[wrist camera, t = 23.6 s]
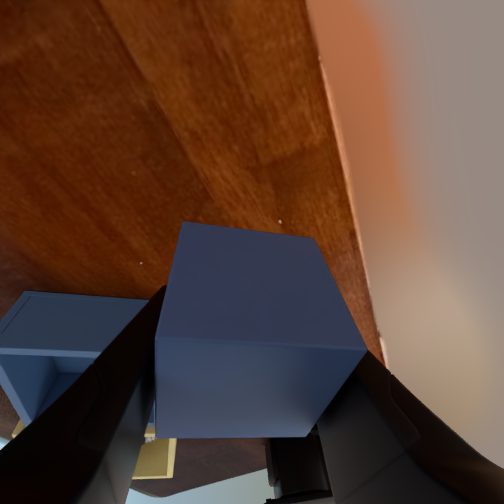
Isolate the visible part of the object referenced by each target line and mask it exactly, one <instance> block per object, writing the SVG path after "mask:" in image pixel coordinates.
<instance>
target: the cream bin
mask: <svg viewBox="0 0 504 504" xmlns="http://www.w3.org/2000/svg"><path fill="white" fill-rule="evenodd" d="M24 428H25V425H24V423H23V422H22V420H21V419H20V421H19V423H18V424H17V426H16V428H15V430H14V432H13V433H12V436H13V438H14V437H15V436H17V435H18V434H19V433H20V432H21V431H22V430H23V429H24ZM144 437H155V427H154V426H147V428H146V432H145V435H144ZM176 443H177V438H167V439H155V440H154V441H153V440H152V441H151V442H150V441H148V443H146V442H145V444H144V445H142V446H141V449H140V453H139V456H138V460H137V463H136V467H135V470H134V474H133V477H132V479H149V478H166V477H167V478H172V477H173V469H174V460H175V452H176Z"/></svg>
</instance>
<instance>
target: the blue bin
mask: <svg viewBox="0 0 504 504" xmlns="http://www.w3.org/2000/svg"><path fill="white" fill-rule="evenodd" d="M148 301H149V300H141V299H128V298H115V297H102V296H89V295H76V294H63V293H49V292H36V291H24V292H23V294H22V295H21V296H20V298H19V299H18V300H17V301H16V302H15V304H14V305H13V306H12V307H11V308H10V310H9V311H8V312H7V313H6V315H5V316H4V317H3V318H2V319H1V321H0V384H1V386H2V388H3V389H4V391H5V393H6V394H7V396H8V398H9V399H10V401H11V403H12V405H13V406H14V408H15V410H16V411H17V413H18V415H19V417H20V418H21V420H22V422H23V423H24V425H25V427H27V426H28V425H29V424H30V423H31V422H32V421H33V420H34V419H35V418H37V417H38V416H39V415H40V414H41V413H42V412H43V411H44V410H45V409H46V408H48V407H49V406H50V405H51V404H52V403H53V402H54V401H55V400H56V399H57V398H58V397H59V396H60V395H61V394H62V393H64V392H65V391H66V390H67V388H68V387H69V386H70V385H71V384H72V383H73V382H74V381H75V380H76V379H77V378H78V377H79V376H80V375H81V374H82V373H83V372H84V371H85V370H86V369H87V367H88V366H89V365H90V364H93V361H94V360H95V359H96V358H97V357H98V356H99V355H100V353H101V352H102V351H103V350H104V349H105V348H106V347H107V346H108V345H109V344H110V343H111V342H112V340H113V339H114V338H115V337H116V336H117V335H118V334H119V333H120V332H121V331H122V330H123V329H124V327H125V326H126V325H127V324H128V323H129V322H130V321H131V320H132V319H133V318H134V317H135V315H136V314H137V313H138V312H139V311H140V310H141V309H142V308H143V307H144V306H145V305H146V304H147V302H148ZM147 426H154V427H155V400H154V404H153V407H152V411H151V414H150V418H149V421H148V425H147Z"/></svg>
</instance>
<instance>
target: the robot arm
mask: <svg viewBox="0 0 504 504" xmlns="http://www.w3.org/2000/svg"><path fill="white" fill-rule="evenodd" d="M166 289H167V285H163V286H162V287H161V288H160V289H159V290H158V292H157V293H156V294H155V295H154V296H153V297H152V298H151V299H150V300H149V301H148V302H147V304H146V305H145V306H144V307H143V308H142V309H141V310H140V311H139V312H138V313H137V314H136V315H135V317H134V318H133V319H132V320H131V321H130V322H129V323H128V324H127V325H126V326H125V327H124V329H123V330H122V331H121V332H120V333H119V334H118V335H117V336H116V337H115V338H114V339H113V340H112V342H111V343H110V344H109V345H108V346H107V347H106V348H105V349H104V350H103V351H102V352H101V353H100V355H99V356H98V357H97V358H96V359H95V360H94V361H93V364H90V365H89V366H88V367H87V369H86V370H85V371H84V372H83V373H82V374H81V375H80V376H79V377H78V378H77V379H76V380H75V381H74V382H73V383H72V384H71V385H70V386H69V387H68V388H67V390H66V391H65V392H64V393H62V394H61V395H60V396H59V397H58V398H57V399H56V400H55V401H54V402H53V403H52V404H51V405H50V406H49V407H48V408H46V409H45V410H44V411H43V412H42V413H41V414H40V415H39V416H38V417H37V418H35V419H34V420H33V421H32V422H31V423H30V424H29V425H28V426H27V427H25V428H24V429H23V430H22V431H21V432H20V433H19V434H18V435H17V436H15V437H14V438H13V439H12V440H11V441H10V442H9V443H8V444H7V445H5V446H4V447H3V448H2V449H1V450H0V504H125V502H126V498H127V495H128V491H129V488H130V484H131V481H132V477H133V474H134V470H135V467H136V463H137V460H138V456H139V453H140V449H141V446H142V442H143V439H144V435H145V432H146V428H147V425H148V421H149V418H150V414H151V411H152V407H153V404H154V400H155V335H156V331H157V327H158V322H159V318H160V314H161V310H162V306H163V301H164V297H165V293H166ZM317 426H318V427H312V429H311V430H310V432H309V433H308V434H307V436H306V437H271V438H270V439H269V441H268V443H267V445H266V447H265V452H266V461H267V471H268V480H269V485H270V486H271V487H274V494H275V499H271V498H270V499H266V503H264V504H504V469H503V468H501V467H499V466H497V465H496V464H494V463H493V462H491V461H489V460H488V459H487V458H485V457H484V456H482V455H481V454H480V453H479V452H477V451H476V450H475V449H474V448H473V447H471V446H470V445H469V444H468V443H467V442H466V441H464V440H463V439H462V438H461V437H460V436H459V435H458V434H457V433H456V432H454V431H453V430H452V429H451V428H450V427H449V426H448V425H446V424H445V423H444V422H443V421H442V420H441V419H440V418H439V417H437V416H436V415H435V414H434V413H433V412H432V411H431V410H430V409H428V408H427V407H426V406H425V405H424V404H423V403H422V402H421V401H420V400H419V399H417V398H416V397H415V396H414V395H413V394H412V393H411V392H410V391H409V390H408V389H407V388H406V387H405V386H404V385H403V384H402V383H401V382H400V381H399V380H398V379H397V378H396V377H395V376H394V375H393V374H391V372H390V371H389V370H388V369H387V368H386V367H385V366H384V365H383V364H382V363H381V362H380V361H379V360H378V359H377V358H376V357H375V356H374V355H373V354H372V353H371V352H370V351H369V350H368V349H367V352H366V353H365V354H364V356H363V357H362V359H361V360H360V361H359V363H358V364H357V366H356V367H355V368H354V370H353V371H352V373H351V374H350V375H349V377H348V378H347V380H346V381H345V382H344V384H343V385H342V387H341V388H340V389H339V391H338V392H337V394H336V395H335V396H334V398H333V399H332V401H331V402H330V403H329V405H328V406H327V408H326V409H325V410H324V412H323V413H322V415H321V416H320V417H319V419H318V420H317Z"/></svg>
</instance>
